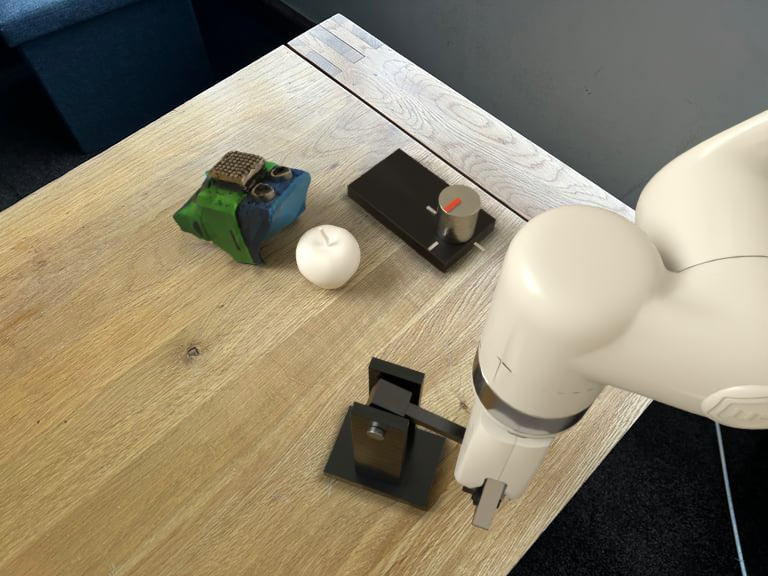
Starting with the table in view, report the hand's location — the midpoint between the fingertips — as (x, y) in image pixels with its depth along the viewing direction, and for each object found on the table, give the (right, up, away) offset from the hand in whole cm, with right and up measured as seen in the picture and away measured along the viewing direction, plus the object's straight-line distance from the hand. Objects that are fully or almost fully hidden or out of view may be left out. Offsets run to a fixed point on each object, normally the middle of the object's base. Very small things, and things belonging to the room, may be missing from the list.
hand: (489, 463), depth 55 cm
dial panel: (-5, +24, +25) cm, 35 cm away
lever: (-5, +3, -2) cm, 6 cm away
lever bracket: (-9, -2, +8) cm, 12 cm away
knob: (-1, +22, +21) cm, 30 cm away
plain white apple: (-15, +16, +20) cm, 30 cm away
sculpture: (-25, +22, +23) cm, 41 cm away
